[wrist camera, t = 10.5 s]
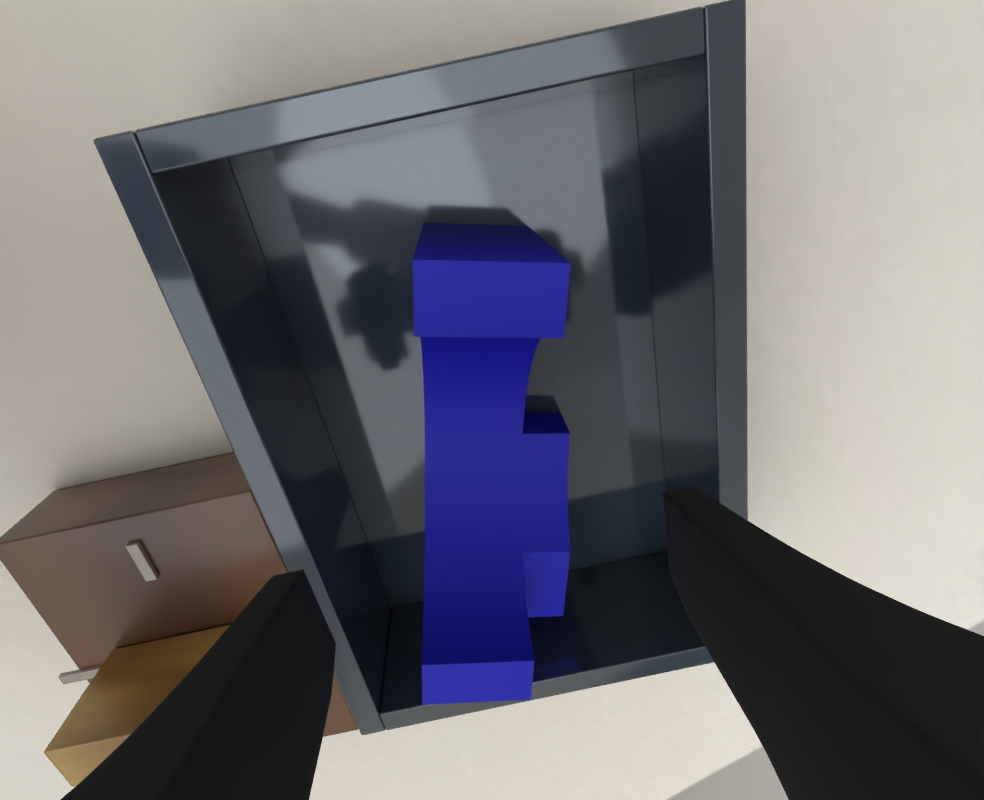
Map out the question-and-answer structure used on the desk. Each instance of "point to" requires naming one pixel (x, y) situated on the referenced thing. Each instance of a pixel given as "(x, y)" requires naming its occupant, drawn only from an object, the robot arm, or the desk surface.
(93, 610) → the block
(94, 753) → the yellow box red patch
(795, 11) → the desk surface
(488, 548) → the cable clip
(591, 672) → the grey open box
